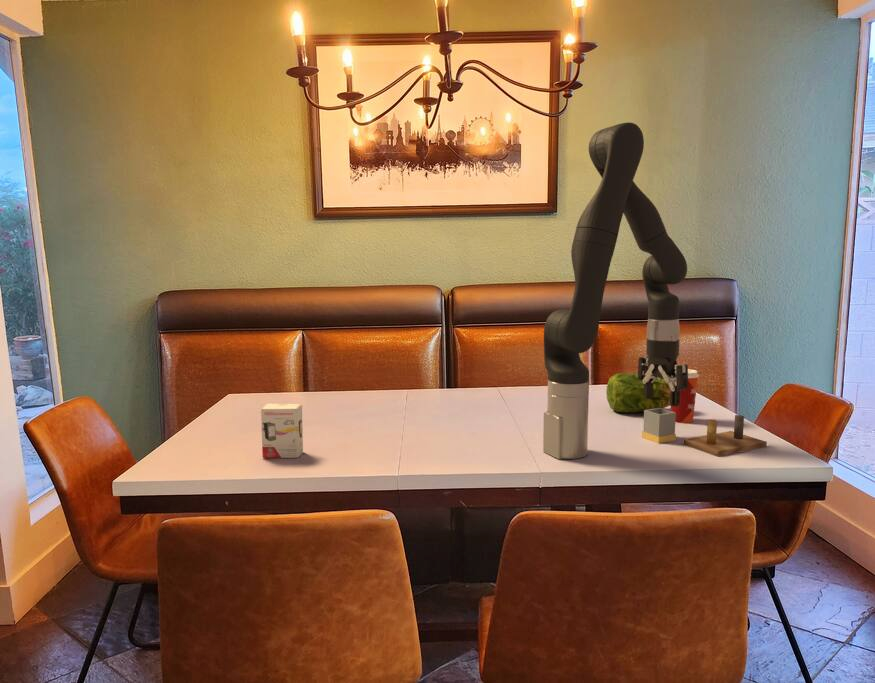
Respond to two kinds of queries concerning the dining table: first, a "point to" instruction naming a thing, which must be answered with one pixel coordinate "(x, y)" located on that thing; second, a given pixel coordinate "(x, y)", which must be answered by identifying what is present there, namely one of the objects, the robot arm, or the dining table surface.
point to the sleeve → (659, 425)
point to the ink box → (282, 430)
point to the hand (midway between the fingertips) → (661, 402)
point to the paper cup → (687, 399)
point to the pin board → (725, 439)
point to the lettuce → (635, 394)
